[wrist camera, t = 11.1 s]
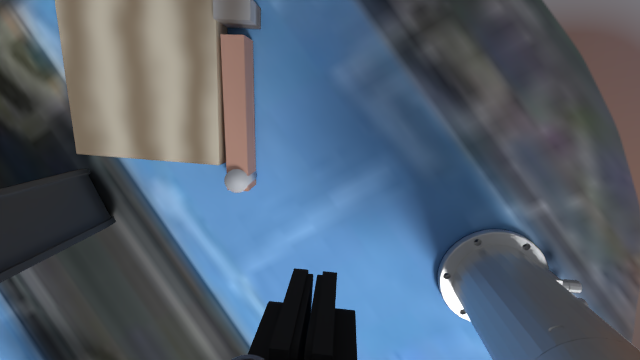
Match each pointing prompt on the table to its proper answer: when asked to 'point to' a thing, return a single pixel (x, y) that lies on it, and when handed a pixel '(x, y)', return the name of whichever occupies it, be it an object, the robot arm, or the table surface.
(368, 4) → the table surface
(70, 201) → the speaker
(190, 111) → the stool seat
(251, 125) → the folding leg
